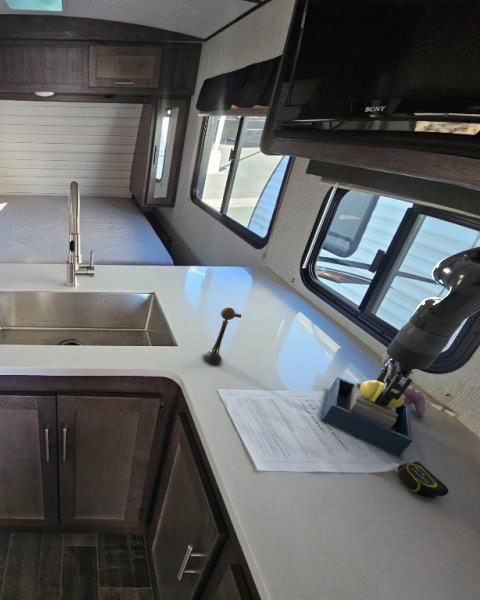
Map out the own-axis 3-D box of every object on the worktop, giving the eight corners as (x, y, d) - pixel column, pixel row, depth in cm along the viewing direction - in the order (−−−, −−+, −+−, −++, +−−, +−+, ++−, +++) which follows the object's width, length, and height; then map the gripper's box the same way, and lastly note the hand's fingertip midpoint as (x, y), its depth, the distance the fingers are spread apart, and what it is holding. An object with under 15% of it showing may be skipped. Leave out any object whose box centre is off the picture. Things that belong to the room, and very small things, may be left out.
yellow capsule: (398, 400, 80) (410, 388, 77) (396, 415, 77) (408, 404, 74) (358, 383, 84) (367, 372, 81) (354, 398, 82) (364, 387, 78)
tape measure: (443, 499, 68) (455, 489, 66) (416, 503, 67) (427, 493, 65) (411, 468, 74) (420, 458, 72) (385, 471, 73) (394, 461, 71)
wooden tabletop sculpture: (223, 358, 104) (242, 306, 94) (224, 367, 100) (243, 314, 90) (204, 354, 105) (220, 302, 95) (204, 363, 102) (221, 310, 91)
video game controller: (414, 412, 90) (423, 389, 89) (425, 418, 86) (434, 393, 85) (371, 399, 93) (379, 377, 92) (379, 405, 89) (388, 381, 88)
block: (379, 417, 86) (396, 394, 82) (378, 442, 79) (398, 419, 75) (343, 401, 90) (358, 379, 86) (340, 423, 84) (356, 401, 79)
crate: (397, 420, 85) (409, 405, 82) (399, 456, 76) (413, 441, 73) (328, 390, 94) (337, 376, 91) (322, 420, 84) (332, 405, 81)
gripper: (445, 367, 64) (400, 420, 73) (437, 335, 74) (398, 385, 82) (397, 351, 68) (360, 403, 77) (395, 322, 78) (362, 371, 86)
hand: (379, 394), depth 80 cm, fingers open, 8 cm apart
